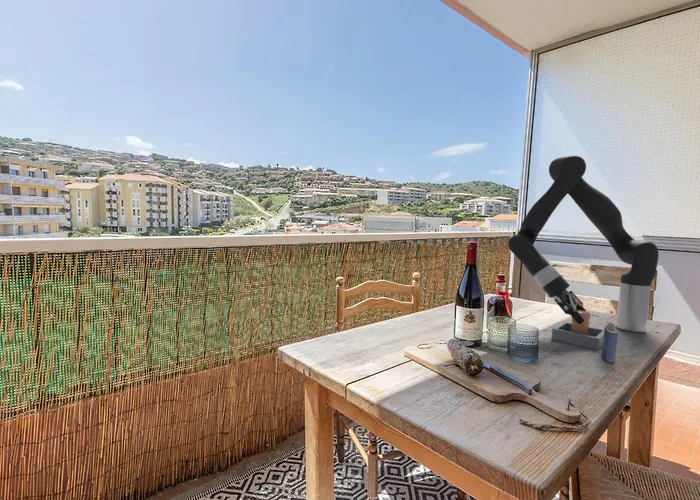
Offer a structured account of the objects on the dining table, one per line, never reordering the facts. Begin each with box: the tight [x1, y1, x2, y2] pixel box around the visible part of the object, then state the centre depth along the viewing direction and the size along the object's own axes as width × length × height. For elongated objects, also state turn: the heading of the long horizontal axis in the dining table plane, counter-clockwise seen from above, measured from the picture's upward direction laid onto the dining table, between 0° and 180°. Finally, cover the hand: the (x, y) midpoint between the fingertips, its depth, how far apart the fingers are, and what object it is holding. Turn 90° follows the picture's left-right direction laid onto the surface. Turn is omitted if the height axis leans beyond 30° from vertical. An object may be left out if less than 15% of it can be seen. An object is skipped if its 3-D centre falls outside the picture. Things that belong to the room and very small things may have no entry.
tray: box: [551, 321, 604, 351], centre depth 127 cm, size 13×13×4 cm
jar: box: [570, 310, 591, 335], centre depth 127 cm, size 5×5×9 cm
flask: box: [600, 321, 619, 364], centre depth 111 cm, size 9×3×11 cm, turn 152°
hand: (585, 320), depth 126 cm, fingers open, 8 cm apart
